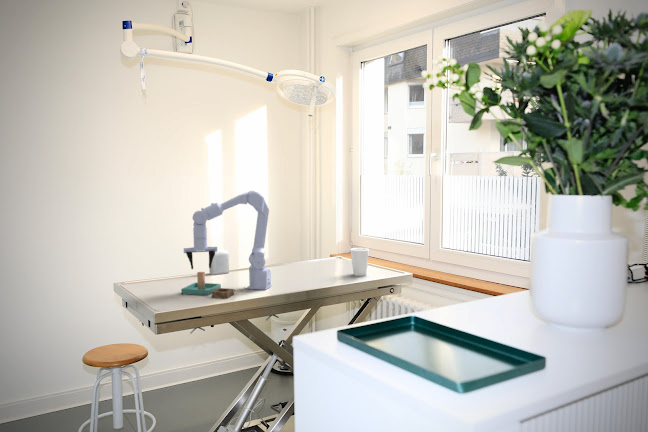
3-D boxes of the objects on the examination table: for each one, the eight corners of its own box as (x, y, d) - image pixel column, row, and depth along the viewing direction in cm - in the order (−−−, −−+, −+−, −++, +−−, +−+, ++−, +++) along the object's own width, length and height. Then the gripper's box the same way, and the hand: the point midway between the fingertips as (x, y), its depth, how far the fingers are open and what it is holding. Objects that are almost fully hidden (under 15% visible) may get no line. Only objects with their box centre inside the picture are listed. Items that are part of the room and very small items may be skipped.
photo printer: (226, 271, 288) (226, 248, 287) (230, 273, 284) (229, 249, 283) (208, 274, 282) (207, 250, 281) (211, 275, 279) (210, 251, 277)
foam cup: (346, 274, 280) (346, 249, 279) (360, 271, 286) (360, 247, 285) (359, 277, 273) (359, 251, 272) (372, 274, 278) (373, 249, 277)
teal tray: (220, 288, 250) (220, 283, 250) (208, 295, 238) (208, 290, 238) (194, 287, 253) (194, 282, 253) (181, 293, 241) (181, 288, 241)
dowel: (206, 289, 247) (205, 271, 246) (203, 291, 244) (202, 273, 243) (199, 289, 247) (199, 271, 247) (196, 290, 244) (195, 273, 243)
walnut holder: (233, 294, 239) (233, 288, 239) (227, 298, 233) (227, 292, 232) (218, 293, 241) (218, 288, 241) (212, 297, 234) (211, 291, 234)
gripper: (216, 236, 249) (216, 265, 250) (183, 237, 245) (183, 267, 246) (217, 238, 242) (218, 268, 244) (183, 239, 238) (184, 270, 240)
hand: (201, 268), depth 245 cm, fingers open, 7 cm apart
